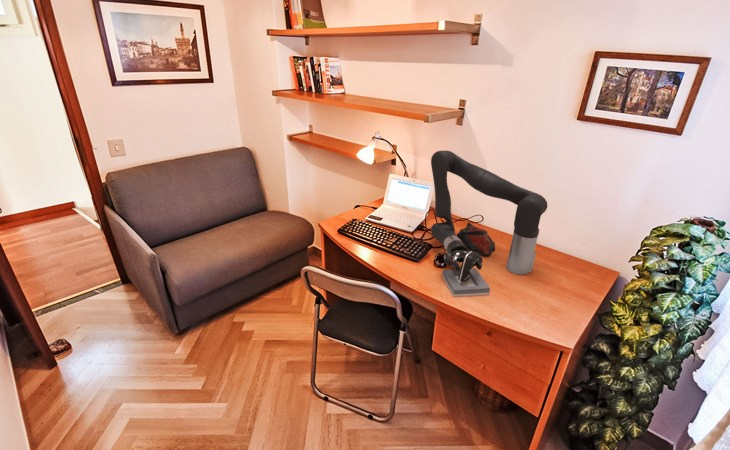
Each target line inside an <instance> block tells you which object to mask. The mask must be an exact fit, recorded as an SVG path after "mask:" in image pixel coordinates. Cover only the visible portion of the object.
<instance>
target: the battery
mask: <svg viewBox="0 0 730 450" xmlns="http://www.w3.org/2000/svg"><path fill="white" fill-rule="evenodd" d="M477 258H478V255H477V254H476V253H474V252H472V251H469V250H468V253H466V254H465V255H464V258H463V261H462V262H461V265H460V273H459V277H458V280H459V281H462V282H467V281H468V280H469V279H470V278H471V276H470V269H472V268H474V267H476V266H475V265H476V263H477Z"/></svg>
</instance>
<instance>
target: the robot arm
mask: <svg viewBox="0 0 730 450" xmlns="http://www.w3.org/2000/svg"><path fill="white" fill-rule="evenodd" d="M430 166H431V173H432V177H433V178H432V180H433V185H434V186H433V188H434V199H435V200H434V202H435V203H434V206H435V207H434V214H435V217H436V218H440V219H444V220H445V222H435V223H433V224H432V225H431V228H430V231H431V235H432V237H433V238H434V239H435V240H437V241H438V242H440V244H442V245H443V247H444V250H446V252H444V255H443V260H444V263H445V265H446V266H451V267H453V269H455V270H457V271H459V270H460V269H461V265H460V264H459V263H462V261H463V258H464V255H465V254H466V253H468V252H469V250H467V248H466V246H465V245H464V244H463V243H462V241H461V240H460V239H459V238H458V237H457V233H456V229H455V225H454V223H453V222H454V221H453V216H452V198H451V194H450V189H449V186H448V172H449V173H451V174H454V175H456V176H457V177H460V178H461V179H462V180H463V181H465V182H466V184H468V185H469V186H470V187H471V188H473V189H474V190H475V191H477V192H479V193H482V194H483V195H485V196H488V197H491V198H496V199H501V200H504V201H508V202H510V203H513V204H515V205H516V206H517V207H516V210H515V215H514V221H513V227H514V228H513V232H512V233H513V234H512V238H511V243H510V246H509V247H510V248H509V253H508V258H507V262H506V265H505V266H506V267H505V268H506V269H507V270H508V272H511V273H512V274H515V275H519V276H520V275H522V276H525V275H528V274H529V273H532V271H533V267H534V263H535V260H536V255H537V252H536V251H535V250H536V245H537V242H538V237H539V233H540V228H539V225H540V220H541V216H542V215H543V214H545V212H546V211H547V209H548V201H547V199H546V198H544V196H542V195H541V194H539V193H537V192H535V191H532V190H528V189H526V188H524V187H521V186H518V185H516V184H514V183H513V182H511V181H510V180H509V181H508V180H507V179H505V178H502V177H501V176H499V175H497V174H496V173H493V172H491V171H489V170H487V169H484V168H482V167H480V166H477V165H476V164H473V163H471V162H469V161H467V160H465V159H463V158H462V157H461V156H458V154H456V153H455V152H452V151H450V150H438V151H435V152H434V153H433V154H432V155H431V158H430ZM474 253H476V254H477V255H478V258H477V263H476V265H475V266H474V267H476V269H477V271H478V270H479V271H480V270H481V269H482V267H483V265H482V263H483V257H482V255H481V254H478V253H477V252H476V251H474Z"/></svg>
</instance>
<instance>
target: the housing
mask: <svg viewBox="0 0 730 450" xmlns="http://www.w3.org/2000/svg"><path fill="white" fill-rule="evenodd" d="M459 273H460V270H459V271H457V270H455V269H454V268H453V269H442V274H441V276H442V279H443V280H444V282H445V284H446V286H447V287H448V289H449V291H450V293H451V295H452V296H453V297H455V298H456V297H457V298H458V297H469V296H470V297H471V296H486V295H488V296H489V295H490V291H491V287H490V286H489V284H488V283H487V282H486V280H485V279H484V277H483V276H482V275H481V273H480V272H479V271H478V268H477V267H476V268H474V267H473V268H472V269H470V276H471V278H470V279H469V280H468V281H467V282H462V281H459V280H458V277H459Z"/></svg>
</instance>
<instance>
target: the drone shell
mask: <svg viewBox="0 0 730 450" xmlns="http://www.w3.org/2000/svg"><path fill="white" fill-rule="evenodd" d="M456 236H457V237H458V238H459V239H460V240H461V241H462V243H463V244H464V245H465V246H466V248H467V250H468V252H469V251H472V252H474V251H476V252H477V253H478V254H479V255H480V256H485V257H487V256H491V254H492V253H493V252H494V251H495V250H496V243H495V242H494V241H493V238H492V237H491V236H490V235H489V234H488V231H487V230H486V229H483V228H481V227H477V226H475V225H473V224H472V223H471V222H469V221H468V222H467V224H466V227H464V228H461V229H460V230H459V231H458V232H457V233H456Z"/></svg>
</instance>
